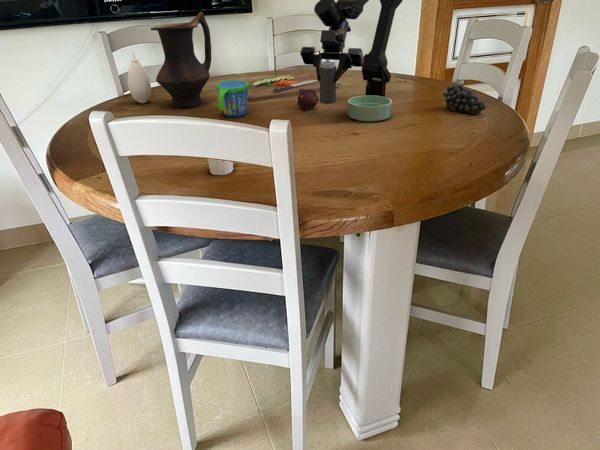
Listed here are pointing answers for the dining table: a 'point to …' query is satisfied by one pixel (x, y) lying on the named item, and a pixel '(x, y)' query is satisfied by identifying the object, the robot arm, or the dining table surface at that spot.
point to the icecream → (307, 99)
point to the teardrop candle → (138, 81)
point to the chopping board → (282, 86)
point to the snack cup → (233, 97)
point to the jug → (183, 62)
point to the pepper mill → (327, 82)
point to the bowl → (369, 108)
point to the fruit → (463, 99)
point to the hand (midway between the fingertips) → (326, 81)
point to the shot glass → (220, 167)
